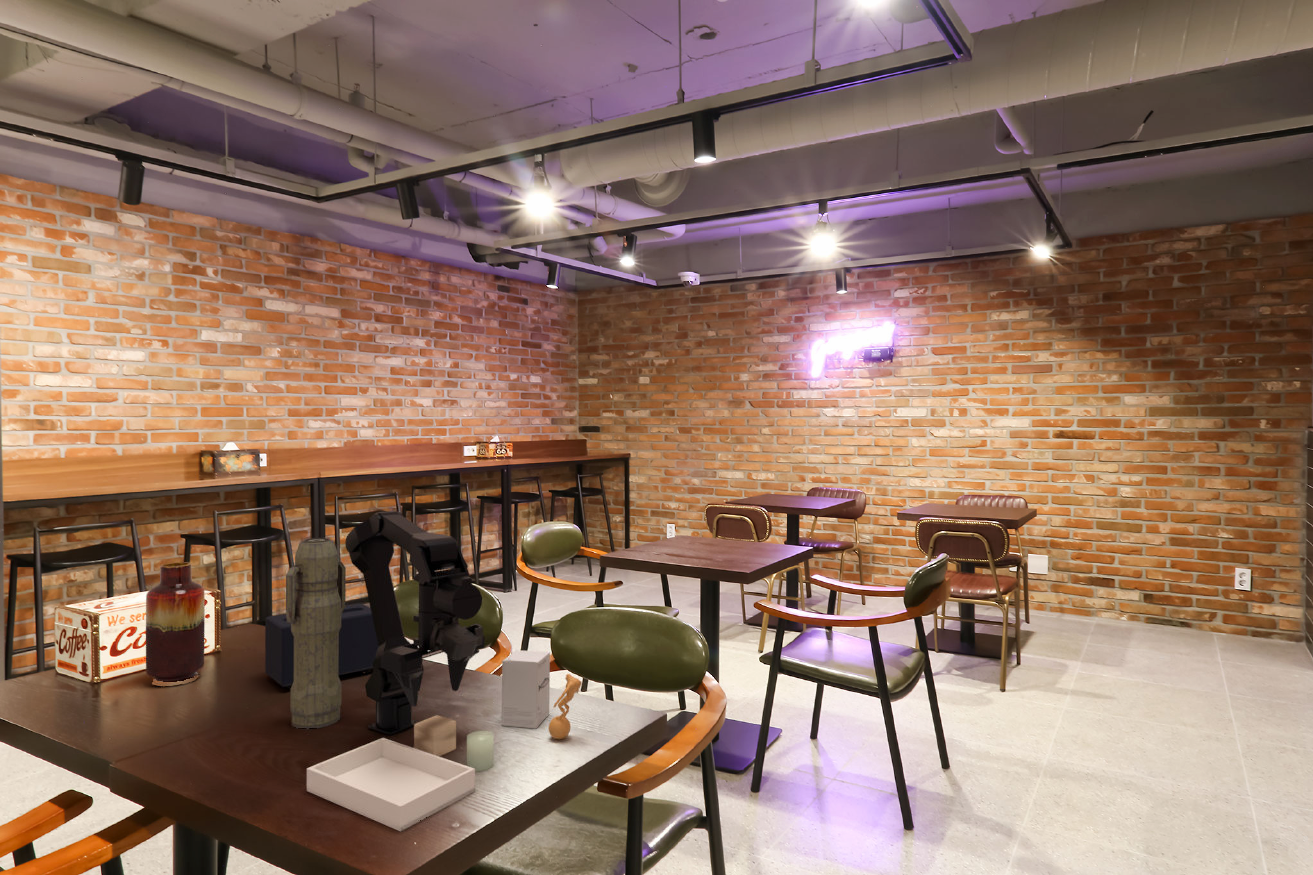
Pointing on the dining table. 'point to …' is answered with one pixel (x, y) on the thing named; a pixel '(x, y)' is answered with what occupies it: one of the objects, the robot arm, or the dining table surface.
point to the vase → (175, 625)
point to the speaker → (353, 644)
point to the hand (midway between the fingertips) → (435, 698)
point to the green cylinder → (480, 750)
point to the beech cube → (435, 735)
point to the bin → (391, 782)
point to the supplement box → (525, 688)
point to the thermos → (315, 632)
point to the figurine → (561, 724)
